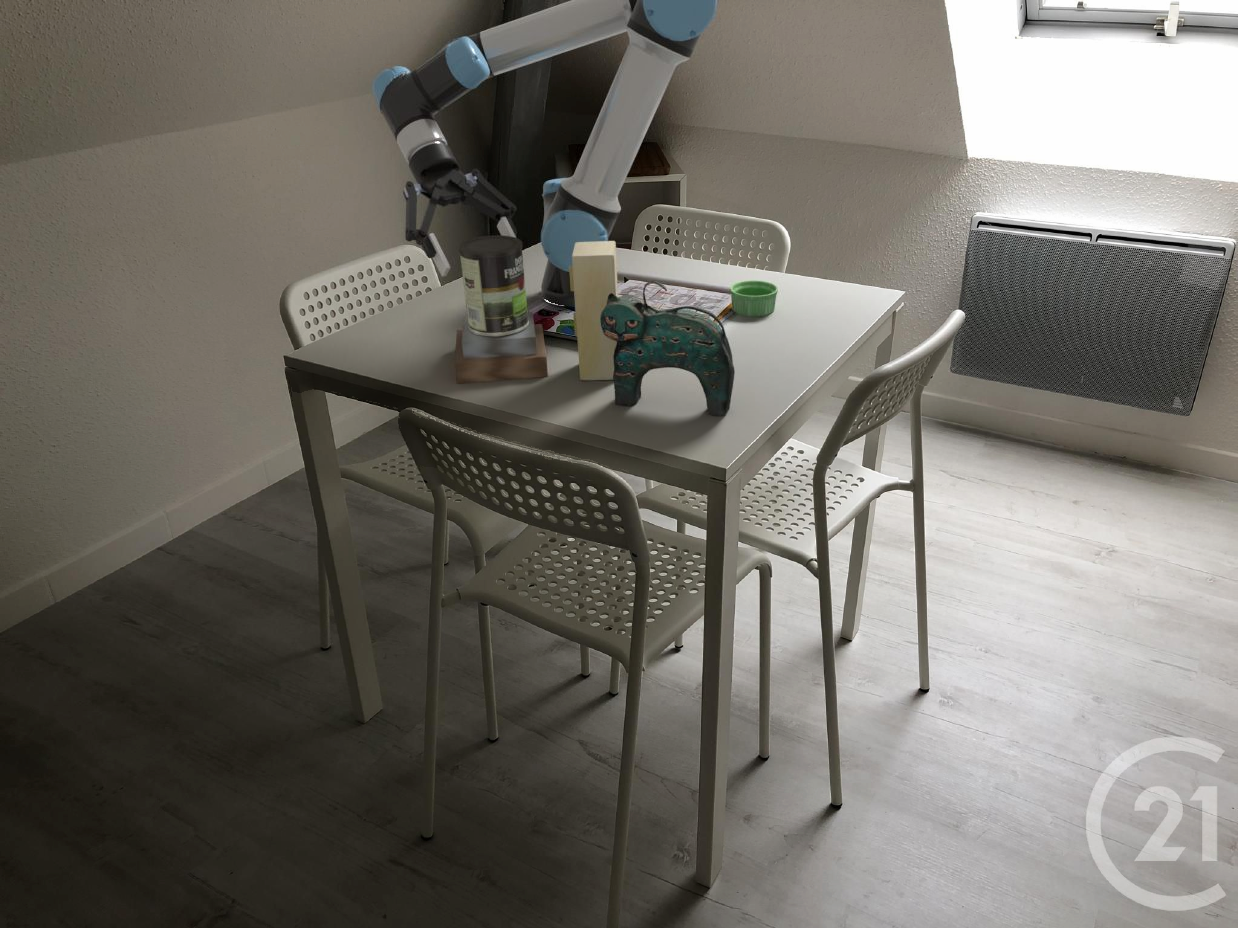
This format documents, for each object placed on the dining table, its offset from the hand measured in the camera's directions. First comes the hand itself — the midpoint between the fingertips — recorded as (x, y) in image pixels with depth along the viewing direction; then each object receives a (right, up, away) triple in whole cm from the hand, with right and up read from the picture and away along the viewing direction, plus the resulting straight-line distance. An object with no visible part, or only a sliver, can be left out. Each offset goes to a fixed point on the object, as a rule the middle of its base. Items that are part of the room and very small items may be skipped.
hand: (483, 263), depth 160 cm
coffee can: (+2, -10, +4) cm, 11 cm away
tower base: (+2, -15, +7) cm, 17 cm away
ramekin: (+48, -4, +25) cm, 54 cm away
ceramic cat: (+30, -24, -9) cm, 40 cm away
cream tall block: (+19, -18, +3) cm, 26 cm away
